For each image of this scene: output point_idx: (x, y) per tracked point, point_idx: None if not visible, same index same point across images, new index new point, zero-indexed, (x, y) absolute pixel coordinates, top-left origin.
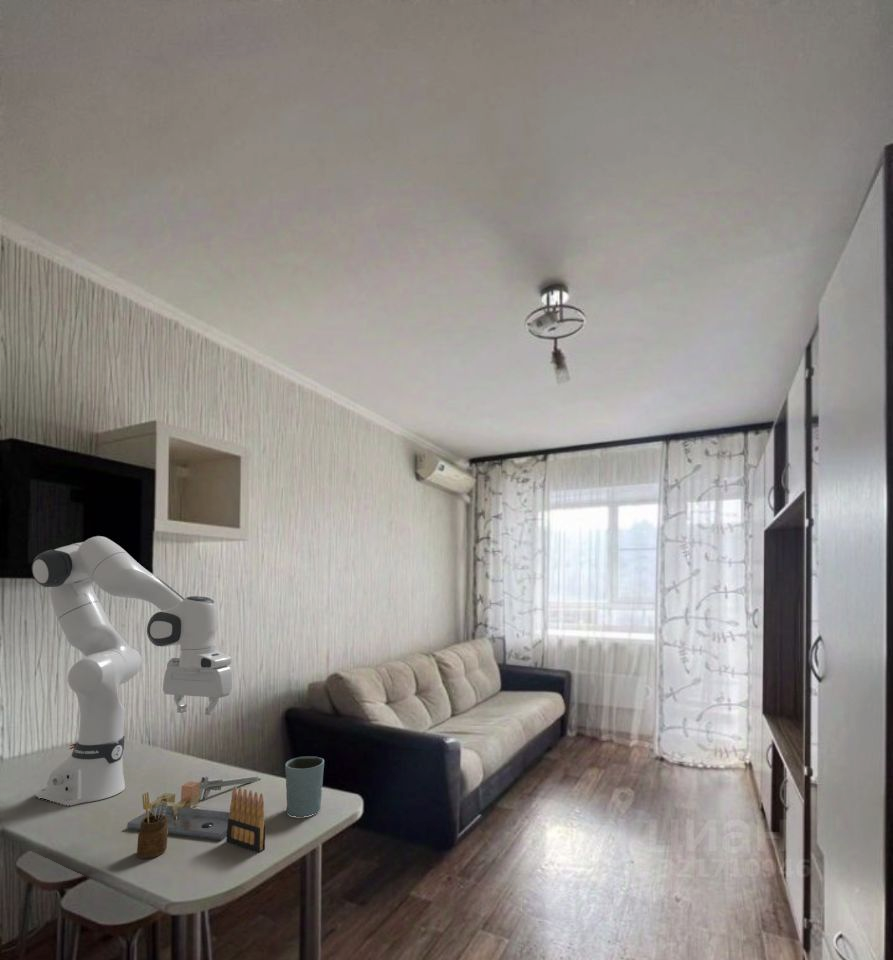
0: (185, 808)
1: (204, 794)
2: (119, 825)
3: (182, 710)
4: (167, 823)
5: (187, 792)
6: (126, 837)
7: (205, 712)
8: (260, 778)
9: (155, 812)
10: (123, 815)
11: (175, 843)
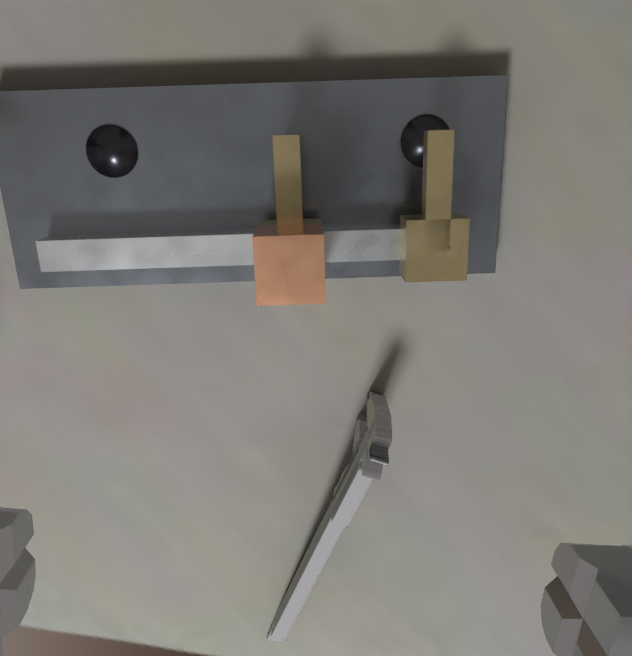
0: None
1: (366, 429)
2: (562, 104)
3: (572, 577)
4: (310, 118)
5: (281, 230)
6: (442, 4)
7: (7, 526)
8: (268, 639)
9: (452, 207)
10: (616, 198)
11: (176, 14)
